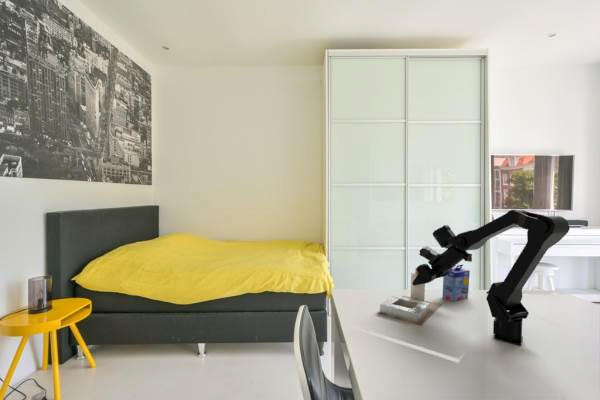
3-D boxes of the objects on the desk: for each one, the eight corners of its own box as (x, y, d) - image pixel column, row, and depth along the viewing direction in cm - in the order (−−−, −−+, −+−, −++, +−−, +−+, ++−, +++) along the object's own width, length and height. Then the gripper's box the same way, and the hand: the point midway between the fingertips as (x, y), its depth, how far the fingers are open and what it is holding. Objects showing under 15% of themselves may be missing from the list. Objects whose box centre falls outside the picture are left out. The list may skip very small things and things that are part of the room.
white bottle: (426, 302, 118) (426, 268, 118) (422, 305, 114) (422, 270, 114) (413, 299, 121) (413, 266, 121) (408, 302, 118) (409, 268, 117)
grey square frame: (429, 311, 109) (430, 303, 109) (417, 323, 99) (418, 313, 99) (394, 302, 117) (394, 295, 117) (379, 312, 107) (380, 304, 107)
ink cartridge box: (454, 303, 119) (455, 266, 119) (441, 299, 124) (442, 263, 124) (469, 299, 124) (470, 264, 124) (456, 295, 129) (457, 261, 129)
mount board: (442, 306, 116) (442, 304, 116) (421, 328, 97) (421, 325, 97) (403, 297, 125) (403, 295, 125) (376, 315, 106) (376, 313, 106)
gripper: (444, 238, 120) (416, 261, 128) (422, 242, 107) (393, 268, 115) (465, 261, 114) (434, 284, 122) (445, 269, 101) (412, 294, 110)
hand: (418, 282), depth 118 cm, fingers open, 9 cm apart
